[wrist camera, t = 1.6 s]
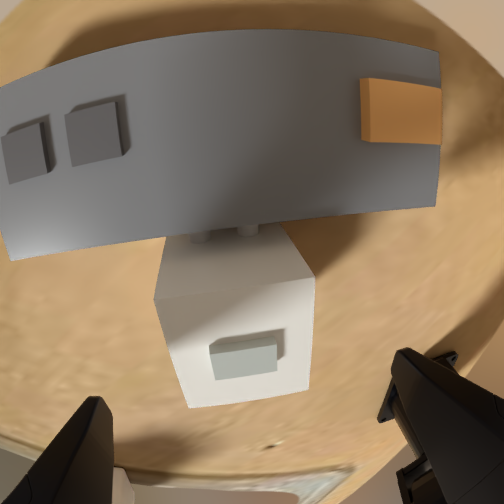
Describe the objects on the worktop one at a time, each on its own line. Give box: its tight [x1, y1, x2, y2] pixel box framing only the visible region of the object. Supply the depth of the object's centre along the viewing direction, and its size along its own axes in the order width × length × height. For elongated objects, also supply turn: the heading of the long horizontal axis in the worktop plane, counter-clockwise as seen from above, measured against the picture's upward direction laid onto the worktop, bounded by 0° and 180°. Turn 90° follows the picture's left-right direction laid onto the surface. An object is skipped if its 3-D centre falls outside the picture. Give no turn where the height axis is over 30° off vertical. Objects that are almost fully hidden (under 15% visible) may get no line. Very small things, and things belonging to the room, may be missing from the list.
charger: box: [154, 222, 315, 408], centre depth 11 cm, size 8×4×6 cm, turn 4°
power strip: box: [0, 29, 442, 261], centre depth 10 cm, size 6×16×4 cm, turn 94°
